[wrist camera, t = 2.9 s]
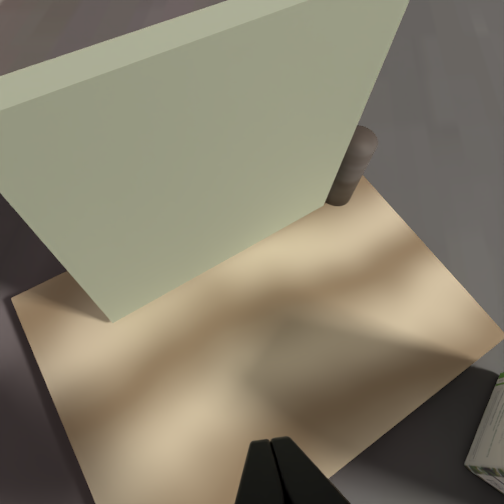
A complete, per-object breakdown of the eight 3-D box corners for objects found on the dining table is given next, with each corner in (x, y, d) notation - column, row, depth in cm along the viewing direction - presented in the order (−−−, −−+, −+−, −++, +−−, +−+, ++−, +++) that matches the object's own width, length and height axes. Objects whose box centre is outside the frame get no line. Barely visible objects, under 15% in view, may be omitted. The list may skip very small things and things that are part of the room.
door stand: (496, 340, 23) (578, 307, 18) (149, 614, 17) (115, 692, 11) (329, 151, 29) (354, 82, 23) (19, 304, 22) (-46, 258, 17)
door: (323, 205, 25) (427, -43, 12) (112, 323, 21) (-55, 130, 8) (298, 176, 26) (372, -84, 13) (91, 283, 22) (-88, 54, 9)
